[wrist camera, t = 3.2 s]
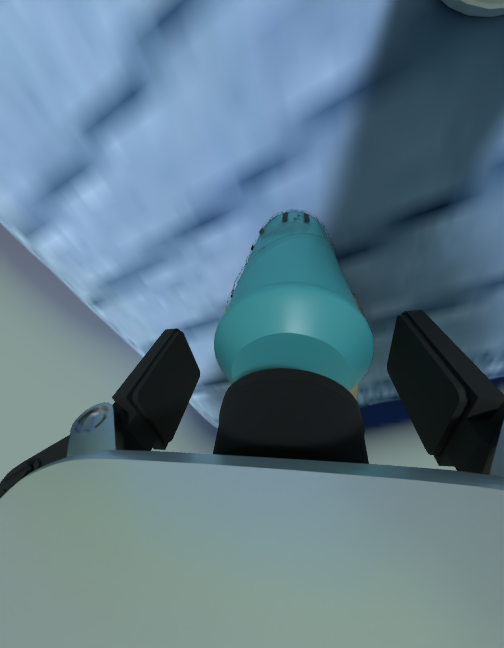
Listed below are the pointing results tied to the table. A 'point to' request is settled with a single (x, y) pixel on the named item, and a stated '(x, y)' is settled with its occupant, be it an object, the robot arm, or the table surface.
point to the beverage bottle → (292, 351)
